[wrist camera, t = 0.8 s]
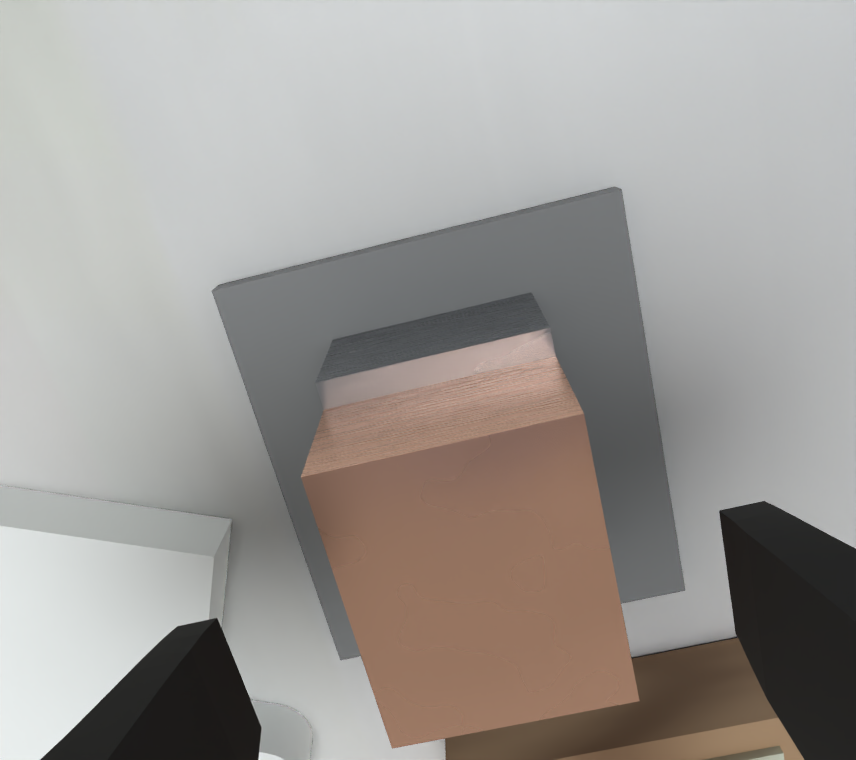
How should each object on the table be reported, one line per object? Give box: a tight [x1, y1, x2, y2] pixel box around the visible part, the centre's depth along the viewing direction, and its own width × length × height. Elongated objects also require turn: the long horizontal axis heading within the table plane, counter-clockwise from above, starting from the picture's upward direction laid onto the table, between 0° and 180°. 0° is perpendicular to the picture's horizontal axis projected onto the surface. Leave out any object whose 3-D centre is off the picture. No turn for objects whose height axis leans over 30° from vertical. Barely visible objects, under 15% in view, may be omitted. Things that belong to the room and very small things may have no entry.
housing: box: [301, 292, 639, 748], centre depth 14 cm, size 4×6×5 cm, turn 14°
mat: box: [212, 187, 685, 660], centre depth 16 cm, size 8×9×1 cm
